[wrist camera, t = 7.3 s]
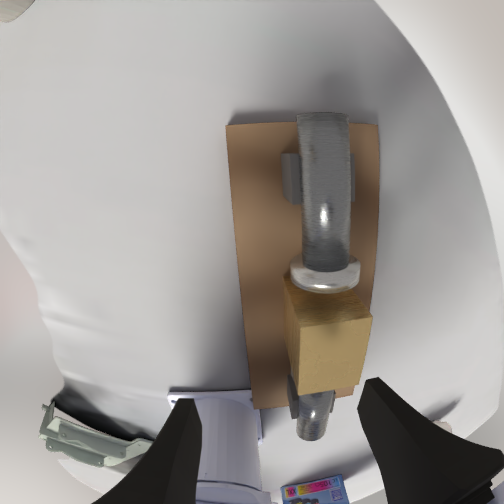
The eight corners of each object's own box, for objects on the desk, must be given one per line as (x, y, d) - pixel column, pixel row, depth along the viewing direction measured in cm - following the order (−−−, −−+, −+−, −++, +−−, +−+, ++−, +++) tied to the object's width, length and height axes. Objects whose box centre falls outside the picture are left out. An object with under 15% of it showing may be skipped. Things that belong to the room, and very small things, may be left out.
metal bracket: (29, 448, 20) (50, 423, 17) (34, 414, 25) (58, 376, 22) (118, 477, 28) (171, 459, 24) (116, 445, 32) (166, 418, 29)
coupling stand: (349, 387, 23) (368, 434, 17) (253, 401, 23) (257, 454, 17) (370, 125, 15) (423, 119, 10) (226, 127, 15) (220, 113, 10)
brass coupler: (282, 276, 17) (300, 327, 12) (337, 270, 18) (372, 316, 12) (284, 337, 19) (298, 395, 14) (333, 331, 19) (358, 384, 14)
